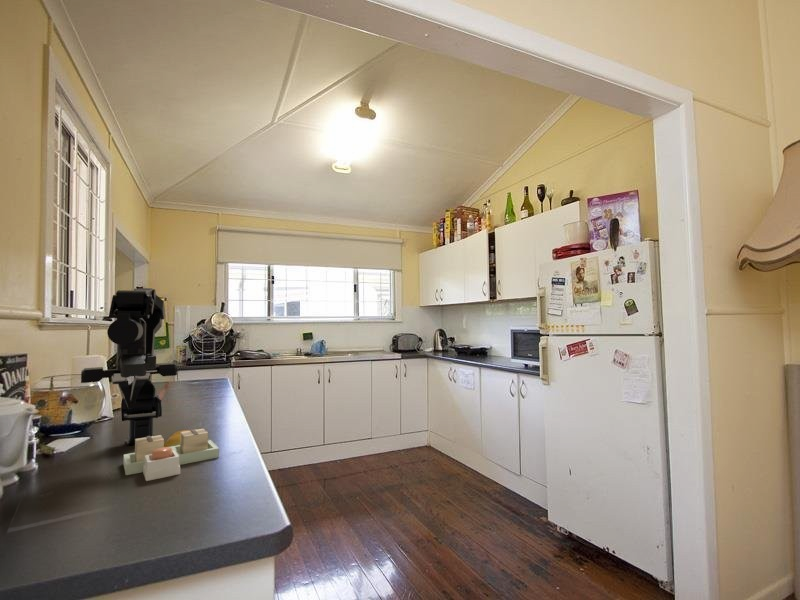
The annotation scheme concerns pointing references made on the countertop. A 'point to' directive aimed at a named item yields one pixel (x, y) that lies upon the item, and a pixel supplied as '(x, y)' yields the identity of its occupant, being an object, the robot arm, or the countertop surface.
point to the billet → (193, 440)
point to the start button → (161, 453)
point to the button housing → (161, 467)
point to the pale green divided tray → (184, 458)
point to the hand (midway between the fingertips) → (130, 408)
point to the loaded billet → (147, 446)
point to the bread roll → (174, 439)
